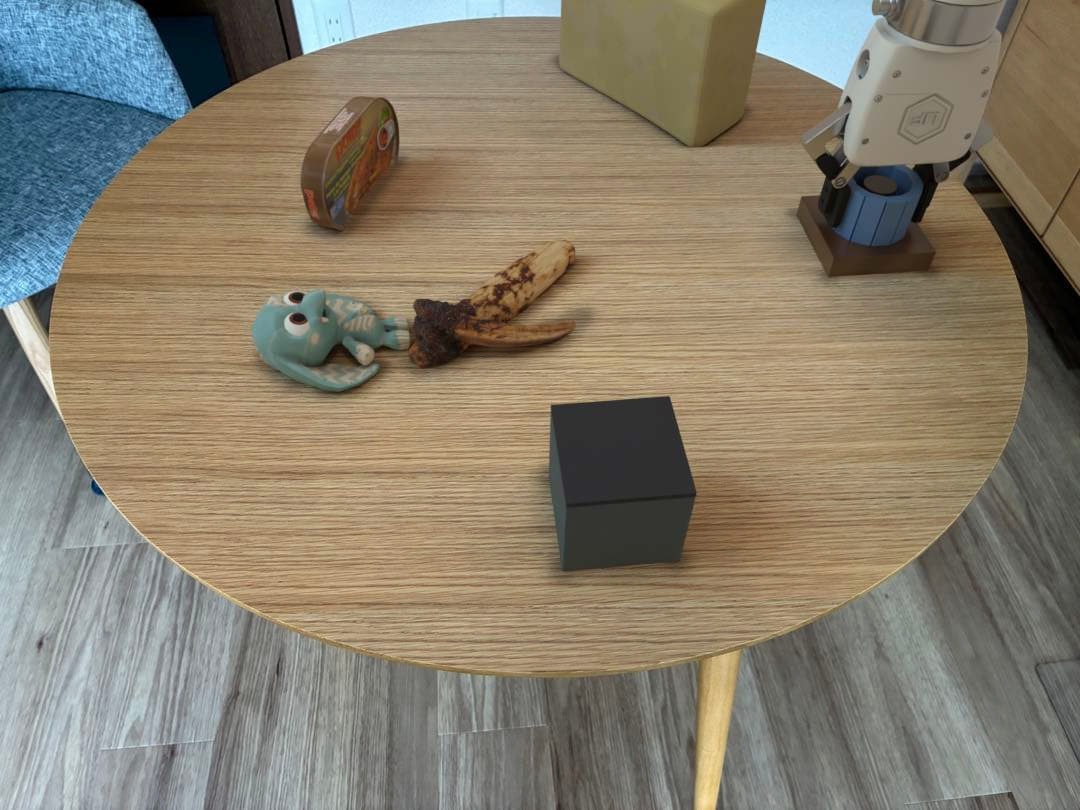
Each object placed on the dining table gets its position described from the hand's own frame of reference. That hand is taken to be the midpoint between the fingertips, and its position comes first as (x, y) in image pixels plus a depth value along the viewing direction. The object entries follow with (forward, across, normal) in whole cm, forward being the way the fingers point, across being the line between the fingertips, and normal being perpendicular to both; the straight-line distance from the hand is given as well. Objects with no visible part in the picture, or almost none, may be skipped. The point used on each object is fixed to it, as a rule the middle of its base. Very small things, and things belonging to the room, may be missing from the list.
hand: (869, 214), depth 75 cm
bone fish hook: (+4, -32, -7) cm, 33 cm away
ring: (+1, 0, 0) cm, 1 cm away
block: (+4, -27, -27) cm, 38 cm away
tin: (+4, -45, +12) cm, 47 cm away
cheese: (+4, -15, +28) cm, 32 cm away
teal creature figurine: (+4, -46, -9) cm, 47 cm away
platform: (+4, 0, 0) cm, 4 cm away
